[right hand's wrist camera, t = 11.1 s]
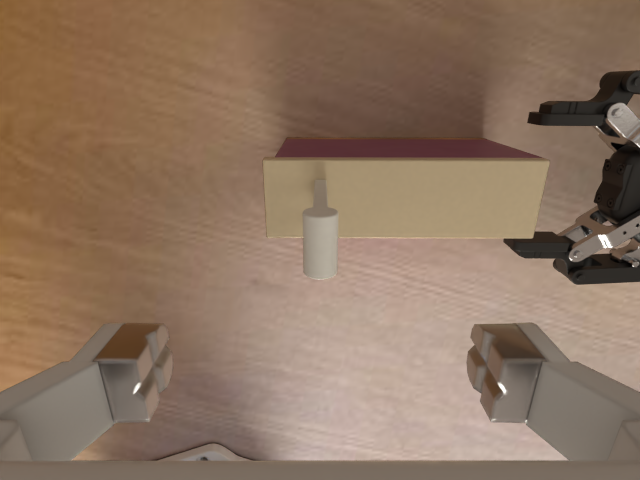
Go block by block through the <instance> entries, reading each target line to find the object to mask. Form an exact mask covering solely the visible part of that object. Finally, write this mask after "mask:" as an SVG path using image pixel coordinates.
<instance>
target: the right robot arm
mask: <svg viewBox="0 0 640 480" xmlns="http://www.w3.org/2000/svg"><path fill="white" fill-rule="evenodd" d="M169 338H170V337H169V333H168V328H167V326H166V325H165V324H151V323H107V324H104V325H103V326H102V327H101V328H100V329H99V330H98V331H97V332H96V333H95V334H94V335H93V336H92V338H91V339H90V340H89V341H88V342H87V343H86V344H85V345H84V346H83V347H82V348H81V350H80V351H79V352H78V353H77V354H76V355H75V356H74V357H73V358H72V359H71V360H70V361H69V362H61V363H59V364H57V365H55V366H53V367H51V368H49V369H47V370H45V371H43V372H41V373H39V374H37V375H35V376H33V377H31V378H29V379H26V380H24V381H22V382H20V383H18V384H16V385H14V386H12V387H10V388H8V389H6V390H4V391H2V392H0V480H640V392H638V391H636V390H634V389H632V388H630V387H628V386H626V385H624V384H622V383H620V382H618V381H615V380H613V379H611V378H609V377H607V376H605V375H603V374H601V373H599V372H597V371H595V370H593V369H591V368H589V367H587V366H585V365H583V364H581V363H579V362H570V360H569V359H568V358H567V357H566V356H565V355H564V354H563V353H562V352H561V351H560V350H559V348H558V347H557V346H556V345H555V344H554V343H553V342H552V341H551V340H550V339H549V338H548V336H547V335H546V334H545V333H544V332H543V331H542V330H541V329H540V328H539V327H538V326H537V325H536V324H534V323H513V324H474V326H473V328H472V332H471V337H470V338H471V339H472V341H473V343H474V344H475V345H474V346H473V347H472V348H471V349H470V350H469V351H468V356H467V372H468V376H469V380H470V382H471V384H472V386H473V388H474V389H476V390H477V391H478V392H480V393H481V399H480V402H481V404H482V406H483V408H484V410H485V412H486V414H487V415H488V417H489V419H490V421H491V422H505V423H526V425H527V426H528V427H529V428H531V429H532V430H533V431H534V432H536V433H537V434H538V435H539V436H540V437H542V438H543V439H544V440H545V441H546V442H548V443H549V444H550V445H551V446H552V447H554V448H555V449H556V450H557V451H558V452H560V453H561V454H562V455H563V456H565V457H566V458H567V459H568V460H569V461H253V460H249V459H246V458H243V457H240V456H237V455H235V454H234V453H233V452H231V451H230V450H228V449H227V448H225V447H223V446H221V445H219V444H215V443H212V444H207V445H204V446H201V447H198V448H195V449H192V450H188V451H185V452H182V453H179V454H176V455H173V456H170V457H167V458H163V459H160V460H157V461H71V460H72V459H73V458H74V457H76V456H77V455H78V454H79V453H80V452H82V451H83V450H84V449H85V448H86V447H88V446H89V445H90V444H91V443H93V442H94V441H95V440H96V439H97V438H99V437H100V436H101V435H102V434H103V433H105V432H106V431H107V430H108V429H110V428H111V427H112V426H113V425H114V423H134V422H149V421H150V419H151V417H152V416H153V414H154V412H155V410H156V408H157V406H158V404H159V402H160V399H159V393H160V392H162V391H163V390H164V389H166V388H167V386H168V384H169V382H170V380H171V376H172V371H173V355H172V351H171V350H170V349H169V348H168V347H167V346H166V345H165V344H166V343H167V341H168V339H169Z"/></svg>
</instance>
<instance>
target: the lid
mask: <svg viewBox="0 0 640 480" xmlns="http://www.w3.org/2000/svg"><path fill="white" fill-rule="evenodd" d="M262 162H263V181H264V200H265V218H266V236H267V238H303V272H304V274H305V275H306V276H307V277H309V278H312V279H320V280H321V279H329V278H332V277H334V276H335V275H336V274H337V264H338V238H533V236H534V232H535V227H536V223H537V218H538V214H539V209H540V205H541V200H542V196H543V191H544V187H545V182H546V178H547V173H548V168H549V164H550V160H547V159H544V158H374V157H265V158H264V159H263V161H262Z"/></svg>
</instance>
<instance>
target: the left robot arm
mask: <svg viewBox="0 0 640 480" xmlns="http://www.w3.org/2000/svg"><path fill="white" fill-rule="evenodd" d="M600 88H601V89H600V90H599V92H598V93H597V95H596V96H595V97H594V98H593V99H591V100H589V101H548V102H545V103H542V104H540V109H539V112H529V117H528V122H527V123H531V124H536V125H546V126H593V127H594V128H595V129H596V130H597V131H598V132H599V137H600V138H601V139H602V140H603V141H604V142H605V143H606V144H607V145H608V146H609V147H610V148H611V149H612V150H613V151H614V152H615V153H614V154H613V155H612V156H611V158H610V159H606V160H605V163H604V167H603V179H602V183H601V185H600V186H599V188H598V190H597V192H596V195H595V199H594V203H597V206H596V207H594V208H593V209H591V210H589V211H588V212H586V213H584V214H583V215H581V216H580V217H578V218H577V219H576V223H575V224H574V225H572V226H571V227H569V228H567V229H565V230H564V231H562V232H560V233H559V234H557V235H556V234H555V233H553V232H534V236H533V238H504V241H503V242H504V243H505V244H507V245H508V246H509V247H510V248H511V249H512V250H513V251H514V252H515V253H517V254H518V255H519V256H521V257H524V258H556V259H555V260H554V262H553V267H554V268H555V269H556V270H557V271H559V272H561V273H562V274H563V275H565V276H566V277H567V278H568V279H569V280H570V281H572V282H573V283H574V284H577V285H580V284H602V283H623V282H640V119H639V118H638V117H637V116H636V115H635V114H634V113H633V112H632V111H631V110H630V109H629V108H628V107H627V106H626V105H627V104H628V102H629V100H630V99H631V97H632V96H633V94H640V71H619V72H608V73H606V74H605V75H604V76H603V77H602V78H601V80H600ZM607 220H608V221H609V222H611V223H612V224H613V225H612V226H605V225H603V224H602V223H604V222H606V221H607ZM628 239H631V241H630V243H629V244H628V245H627V246H625V247H623V248H618V249H614V248H613V247H616V246H618V245H619V244H621V243H623V242H625V241H626V240H628ZM603 248H613V249H611V250H610V254H594V253H596V252H597V251H599V250H601V249H603ZM592 254H593V255H592Z"/></svg>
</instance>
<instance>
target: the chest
mask: <svg viewBox="0 0 640 480" xmlns="http://www.w3.org/2000/svg"><path fill="white" fill-rule="evenodd" d="M275 157H374V158H542V157H539V156H536V155H533V154H530V153H527V152H523V151H520V150H517V149H514V148H511V147H508V146H505V145H502V144H499V143H496V142H493V141H490V140H487V139H484V138H286V141H285V142H284V144H283V145H282V147H281V148H280V150H279V151H278V153H277V155H276V156H275Z"/></svg>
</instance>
